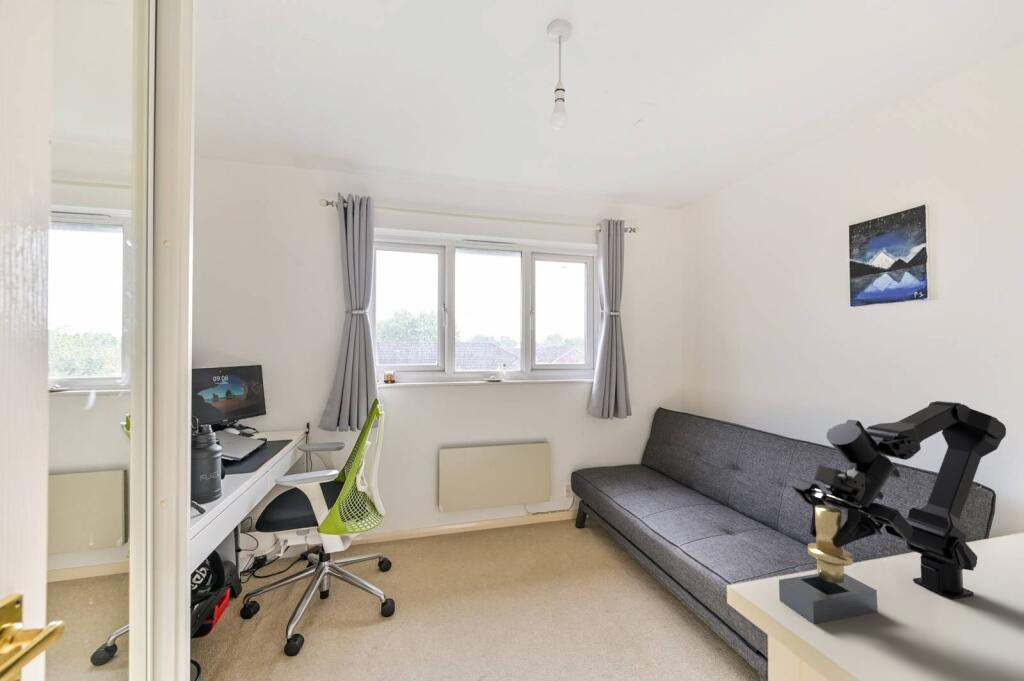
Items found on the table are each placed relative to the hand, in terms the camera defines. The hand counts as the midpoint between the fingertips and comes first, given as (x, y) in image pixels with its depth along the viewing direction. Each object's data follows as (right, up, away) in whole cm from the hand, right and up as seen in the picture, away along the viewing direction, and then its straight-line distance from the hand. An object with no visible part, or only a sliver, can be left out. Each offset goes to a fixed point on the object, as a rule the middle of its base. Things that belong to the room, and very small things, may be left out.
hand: (823, 540), depth 75 cm
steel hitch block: (+1, -13, +1) cm, 13 cm away
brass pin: (+1, -7, 0) cm, 7 cm away
